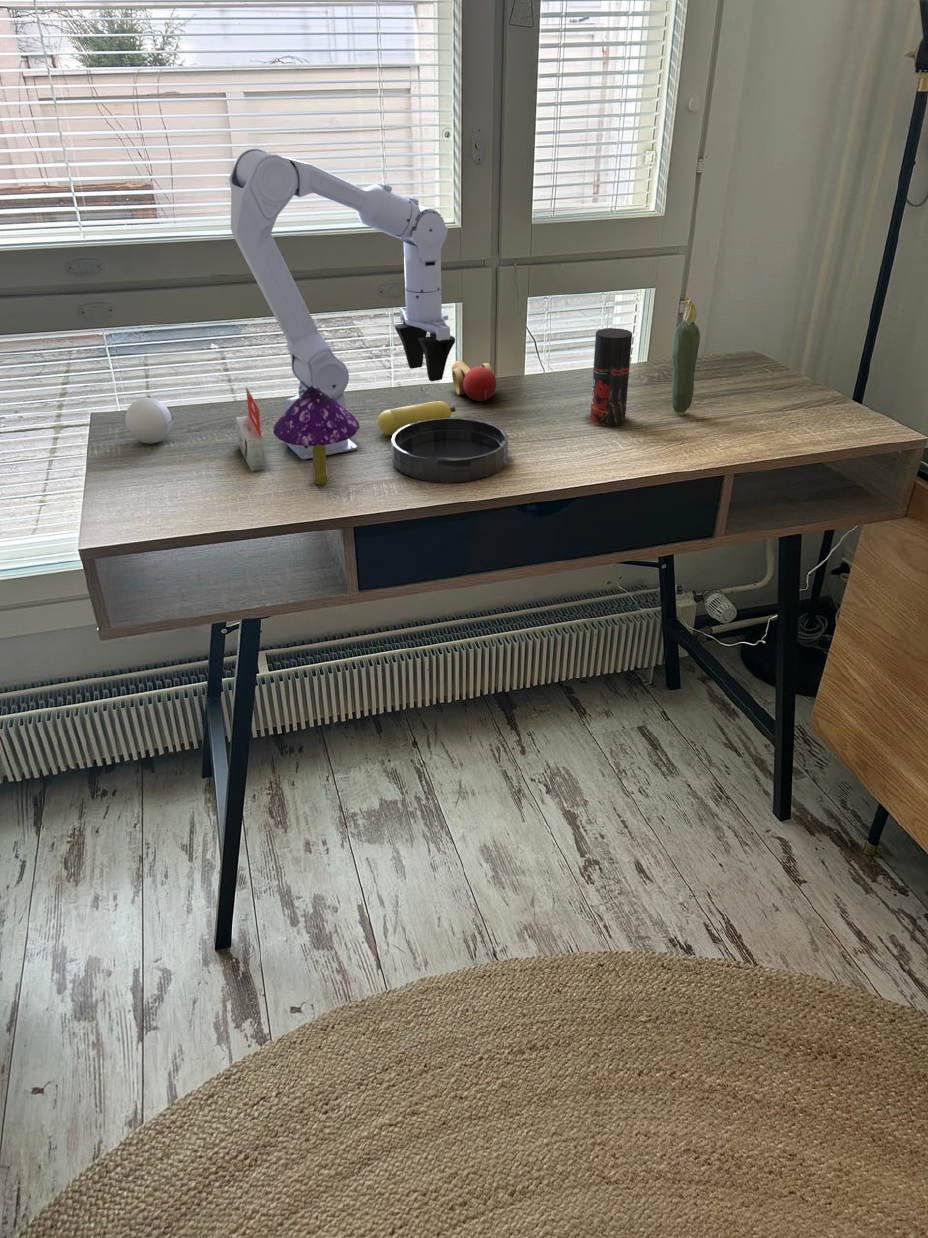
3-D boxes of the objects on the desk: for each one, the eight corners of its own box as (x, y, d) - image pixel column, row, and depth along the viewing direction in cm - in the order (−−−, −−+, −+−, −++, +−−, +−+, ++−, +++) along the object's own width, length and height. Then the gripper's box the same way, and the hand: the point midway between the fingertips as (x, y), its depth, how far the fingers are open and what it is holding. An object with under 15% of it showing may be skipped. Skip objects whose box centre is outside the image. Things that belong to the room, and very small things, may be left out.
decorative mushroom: (304, 509, 135) (293, 407, 127) (265, 481, 144) (252, 383, 136) (379, 488, 141) (373, 388, 134) (337, 461, 150) (329, 367, 142)
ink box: (251, 472, 147) (243, 411, 142) (239, 446, 156) (231, 388, 151) (267, 469, 147) (259, 409, 142) (254, 444, 156) (246, 386, 151)
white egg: (174, 448, 155) (166, 404, 151) (127, 451, 154) (118, 407, 150) (179, 427, 164) (172, 385, 160) (134, 429, 163) (126, 387, 159)
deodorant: (631, 423, 163) (639, 335, 156) (600, 428, 162) (606, 339, 154) (614, 412, 168) (620, 326, 160) (584, 417, 166) (589, 330, 158)
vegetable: (692, 420, 165) (706, 301, 154) (667, 420, 165) (680, 301, 154) (687, 411, 168) (701, 294, 158) (663, 411, 168) (675, 295, 158)
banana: (384, 440, 158) (383, 416, 155) (374, 432, 161) (373, 408, 159) (460, 426, 163) (460, 402, 161) (449, 418, 166) (448, 395, 164)
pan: (423, 492, 140) (422, 468, 138) (374, 452, 153) (373, 429, 151) (528, 469, 147) (529, 446, 145) (473, 432, 160) (473, 410, 158)
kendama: (436, 384, 186) (460, 401, 170) (440, 351, 184) (465, 365, 168) (474, 388, 188) (501, 405, 172) (478, 355, 186) (506, 369, 170)
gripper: (467, 295, 147) (467, 381, 154) (426, 276, 158) (428, 358, 165) (425, 300, 144) (427, 388, 151) (386, 281, 155) (390, 364, 162)
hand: (425, 373), depth 158 cm, fingers open, 7 cm apart
